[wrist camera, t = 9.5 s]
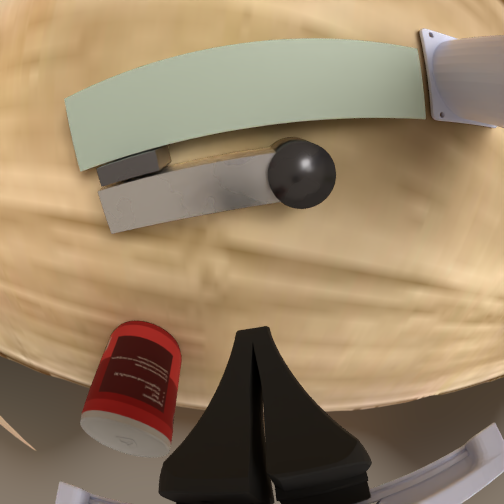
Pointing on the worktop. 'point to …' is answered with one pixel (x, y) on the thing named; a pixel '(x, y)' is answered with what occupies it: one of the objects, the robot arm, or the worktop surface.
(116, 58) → the worktop surface
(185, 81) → the pale green flat bar
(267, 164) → the latch bar
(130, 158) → the block
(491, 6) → the worktop surface
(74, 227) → the worktop surface
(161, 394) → the canned food
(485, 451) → the robot arm
